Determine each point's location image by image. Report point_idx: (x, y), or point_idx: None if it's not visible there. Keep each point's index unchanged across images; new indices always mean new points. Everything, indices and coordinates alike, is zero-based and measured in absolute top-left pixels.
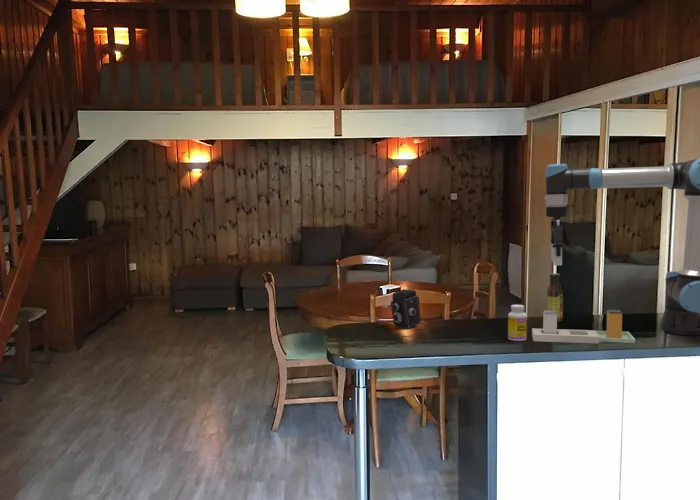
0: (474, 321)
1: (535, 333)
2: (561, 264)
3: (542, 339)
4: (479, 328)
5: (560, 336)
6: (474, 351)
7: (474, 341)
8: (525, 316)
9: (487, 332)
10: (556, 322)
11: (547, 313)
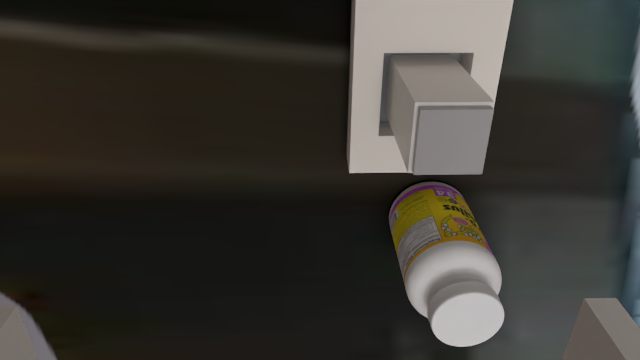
0: (108, 353)
1: None
2: (620, 314)
3: None
4: (235, 333)
5: (502, 47)
6: None
7: None
8: (487, 252)
9: (301, 308)
10: (478, 86)
11: (481, 156)
